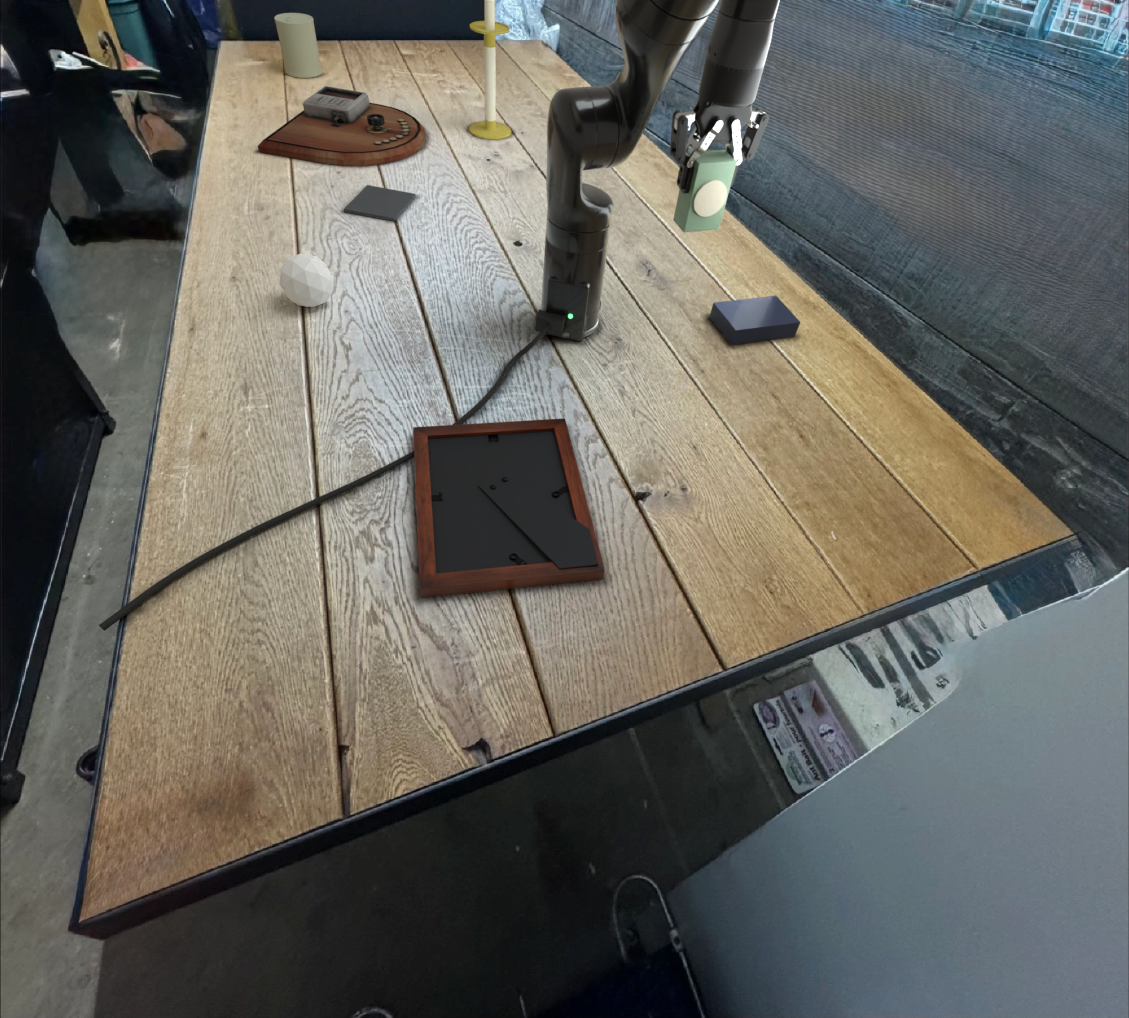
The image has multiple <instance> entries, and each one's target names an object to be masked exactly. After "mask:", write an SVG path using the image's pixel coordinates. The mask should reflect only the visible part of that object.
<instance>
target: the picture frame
mask: <svg viewBox="0 0 1129 1018" xmlns="http://www.w3.org/2000/svg"><path fill="white" fill-rule="evenodd" d="M412 431H413V432H412V433H413V434H412V436H413V451H414V457H413V459H414V481H415V505H416V507H415V508H416V525H417V526H416V529H417V551H418V553H417V554H418V574H419V575H418V577H419V591H420V598H421V599H423V598H424V599H425V598H432V597H433V598H434V597H441V596H442V597H443V596H452V595H462V594H463V595H464V594H472V593H480V592H482V593H483V592H493V591H501V590H510V589H511V590H512V589H521V588H530V587H539V586H549V585H559V584H569V583H577V582H587V581H597V580H603V579H604V576H605V571H606V570H605V565H604V562H603V558H602V553H601V549H600V547H599V543H598V539H597V535H596V531H595V527H594V524H593V519H592V516H591V512H590V509H589V505H588V501H587V497H586V492H585V488H584V485H583V482H582V478H581V474H580V470H579V466H578V463H577V460H576V455H575V450H574V448H573V443H572V440H571V435H570V432H569V429H568V424H567V420H566V417H564V418H562V417H561V418H546V419H530V420H514V421H511V420H510V421H496V422H480V423H479V422H478V423H463V424H460V425H453V424H447V425H446V424H445V425H426V426H413V427H412Z"/></svg>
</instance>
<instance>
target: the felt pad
mask: <svg viewBox="0 0 1129 1018" xmlns="http://www.w3.org/2000/svg"><path fill="white" fill-rule="evenodd" d="M415 198H416V193H413V192H408V191H403V190H396V189H391V188H384V187H382V186H381V187H380V186H374V185H368V184H367V185H366V186H365V187H364V188H363V189H362V190H361V191H359V193H358V194H357V195H356V196H355V197H354V198H353V199H352V200H351V201H350V202H349V203H348V204H347V205H346V206H345V207H344V208H343V212H344V213H349V214H354V215H358V216H363V217H368V218H373V219H380V220H385V221H391V222H396V221H397V219H398V218H399V217H400V216H401V215H402V213H404V211H405V210H406V209H407V208H408V206H409V205H410V204H411V203H412V202H413V201H414V199H415Z"/></svg>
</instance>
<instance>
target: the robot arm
mask: <svg viewBox="0 0 1129 1018" xmlns="http://www.w3.org/2000/svg"><path fill="white" fill-rule="evenodd" d="M780 2H781V0H615V24H616V29H617V35H618V38H619V43H620V47H621V51H622V54H623V58H624V62H623V65H622V68H621V69H620V71H619V73H618V74H617V76H616V78H615V79H614V80H613V81H612V82H611V83H609V84H607V85H597V86H593V85H592V86H579V87H578V86H577V87H576V86H575V87H566V88H560V89H559V90H557V91H556V92H555V93H554V95H553V96H552V98H551V100H550V103H549V107H548V112H547V121H546V173H545V174H546V175H545V176H546V179H545V190H546V202H547V203H546V204H547V207H546V221H545V222H546V223H545V224H546V225H545V239H544V253H543V254H544V255H543V269H542V271H543V272H542V287H541V288H542V289H541V303H540V304H541V305H540V309H538V311H537V313H536V315H535V325H534V332H536V333H538V334H537V335H536V336H534V338H533V339H532V340H530V342H529V343H528V344H527V345H525V346H524V347H523V348H522V349H520V350H519V351H518V352H516V354H514V356H513V357H512V358H511V359H510V360H509V362H508V363H507V364H506V365H505V367H504V369H503V371H502V372H501V373H500V376H499V377H498V379H497V381H495V383H494V384H493V386H492V387H491V388H490V389H489V390H488V392H486V394H485V395H484V396H483V397H482V398H481V399H480V400H479V401H478V402H477V403H476V404H475V405H474V406H473V407H472V408H470V409H469V410H468V411H467V412H466V413H465V414H463V415H462V416H461V417H460V418H459V419H458V420H457V421H455V422H454V423H452V425H460V424H465V422H467V421H468V420H469V419H470V418H471V417H473V416H474V415H475V414H476V413H477V412H478V411H479V410H480V409H481V408H483V406H484V405H485V404H486V403H487V402H488V401H489V400H491V398H492V397H493V395H495V393H496V392H497V391H498V390H499V389H500V387H501V386H502V384H503V383H504V382H505V380H506V378H507V376H508V374H509V373H510V371H511V369H512V368H513V367H514V365H515V364H516V363H517V362H518V361H519V360H520V358H521V357H523V356H524V355H525V354H527V352H529V351H530V350H531V349H532V348H534V347H535V345H537V343H539V341H540V340H541V339H543V337H544V336H545V335H546V336H552V337H556V338H562V339H567V340H571V341H577V342H583V341H584V339H585V338H586V337H590V336H591V335H592V334H594V333H595V332H596V330H597V329H598V327H599V320H600V318H599V314H600V310H601V306H602V301H601V299H602V293H603V286H604V280H605V279H604V278H605V270H606V264H607V257H608V249H609V241H610V235H611V227H612V221H613V215H614V202H613V199H612V197H611V196H610V195H609V194H608V193H607V192H606V191H604V190H603V189H601V188H599V187H597V186H595V185H592V184H589V183H585V182H583V171H593V170H602V169H611V168H615V167H618V166H621V165H622V164H624V163H625V162H626V161H628V159H629V158H630V157H631V156H632V154H633V153H634V151H635V149H636V147H637V146H638V144H639V142H640V140H641V138H642V136H643V135H644V134H643V133H644V131H645V130H646V128H647V125H648V123H649V121H650V119H651V117H652V115H653V112H654V111H655V108H656V106H657V104H658V102H659V100H660V99H661V97H662V95H663V93H664V91H665V90H666V87H667V86H668V84H669V82H670V81H671V79H672V77H673V75H674V74H675V72H676V70H677V69H678V67H679V65H680V64H681V62H682V60H683V59H684V57H685V55H686V54H687V52H688V51H689V49H690V47H691V46H692V44H693V43H694V42H695V40H696V39H697V38H698V37H699V35H700V33H701V31H702V30H703V28H704V27H705V25H706V24H707V22H708V20H709V19H710V17H711V15H712V14H713V13H714V11H715V9H716V8H717V6H718V10H717V13H716V16H715V20H714V23H713V26H712V29H711V32H710V36H709V37H710V38H709V41H708V44H707V49H706V55H705V61H704V65H703V69H702V74H701V79H700V83H699V89H698V99H697V103H696V104H695V106H694V108H693V109H692V110H690V111H686V112H682V111H680V110H676V109H675V111H674V112H673V113H672V119H671V131H670V142H669V143H670V144H669V156H670V157H671V158H672V159H673V160H674V162H676V163H677V164H678V165H679V169H678V174H677V178H676V186H677V187H678V190H680V191H681V192H682V193H683V194H685V193H689V190H690V186H691V181H692V176H693V172H694V167H693V166H694V165H695V163H696V161H697V160H698V158H699V157H700V155H701V154H703V153H705V151H708V148H709V147H710V146H714V145H717V144H722V145H725V151H726V152H727V153H728V154H729V155H731V156H732V157H733V158H734V159H735V160H736V161H737V163H736V167H735V171H734V174H733V178H732V182H731V186H730V188H731V187H732V186H733V185H734V183H735V181H736V180H735V179H736V176H737V173H738V169H739V166H740V165H741V164H742V162H744V161H746V160H747V161H752V160H753V159H754V157H755V155H756V153H757V151H758V148H759V146H760V143H761V140H762V138H763V135H764V133H765V131H766V128H767V125H768V123H769V121H770V116H769V115H768V114H767V113H766V112H765V110H763V109H761V108H759V107H757V108H755V109H752V106H753V105H752V104H754V102H755V100H756V98H757V94H758V91H759V87H760V83H761V79H762V75H763V72H764V70H765V69H764V68H765V64H766V61H767V58H768V53H769V50H770V48H771V43H772V38H773V33H774V32H773V31H774V26H775V21H776V17H777V13H778V9H779V6H780ZM693 123H694V126H695V127H694V128H693V130H692V132H691V133H690V135H689V136H688V132H689V131H690V130H691V127H692V124H693ZM746 125H747V127H746V130H745V133H744V135H743V138H742V135H741V133H742V132H741V131H742V130H743V128H745V126H746ZM687 137H688V138H687ZM700 139H701V140H700ZM412 459H414V450H412V451H410V452H408V453H406V454H405V455H403V456H401V457H399V458H397V459H396V460H394V461H391V462H390V463H388V464H386V465H384V466H382V467H379V468H378V469H376V470H374V471H372V472H369V473H368V474H365V475H364V476H362V477H360V478H358V479H355V480H353V481H352V482H349V483H347V484H345V485H342V486H340V487H338V488H336V489H334V490H332V491H328V492H327V493H324V494H322V495H320V496H317V497H316V498H314V499H312V500H310V501H308V502H305V503H303V504H301V505H299V506H297V507H295V508H292V509H290V510H287V511H286V512H284V513H280V514H278V515H277V516H275V517H272V518H270V519H269V520H266V521H264V522H261V523H259V524H258V525H256V526H253V527H252V528H250V529H247V530H246V531H244V532H242V533H240V534H238V535H235V536H234V537H232V538H230V539H229V540H227V541H225V542H223V543H221V544H219V545H217V546H215V547H214V548H212V549H210V550H208V551H206V552H204V553H202V554H201V555H199V556H197V557H195V558H194V559H192V560H191V561H188V562H187V563H185V564H184V565H182V566H180V567H178V568H177V569H176V570H174V571H172V572H171V573H170V574H167V575H166V576H165V577H163V578H162V579H160V580H159V581H157V582H155V583H154V584H153V585H151V586H149V588H147V589H146V590H144V591H143V592H141V593H140V594H139V595H137V596H136V597H134V599H132V600H130V601H129V602H128V603H126V605H124V606H123V607H121V608H120V609H119V610H117V611H116V612H115V613H113V614H112V615H110V616H108V618H106V619H105V620H104V621H102V622H101V623H100V624H98V627H100V628H101V630H102V631H107V630H108V629H109V628H110V627H112V626H113V625H115V624H116V623H117V622H118V621H120V620H121V619H122V618H124V617H125V616H127V615H128V614H129V613H130V612H132V611H134V609H136V608H137V607H139V606H140V605H141V604H142V603H144V602H145V601H146V600H148V599H149V598H151V597H152V596H153V595H155V594H156V593H157V592H159V591H160V590H161V589H164V588H165V587H167V586H168V585H169V584H171V583H172V582H174V581H175V580H177V579H179V578H180V577H182V576H183V575H184V574H187V573H188V572H190V571H191V570H193V569H195V568H196V567H198V566H200V565H201V564H203V563H204V562H207V561H208V560H210V559H212V558H213V557H216V556H217V555H219V554H221V553H223V552H225V551H227V550H228V549H230V548H233V547H234V546H236V545H238V544H239V543H242V542H243V541H245V540H247V539H249V538H252V537H253V536H255V535H257V534H259V533H261V532H263V531H265V530H267V529H269V528H271V527H274V526H276V525H277V524H280V523H282V522H284V521H286V520H288V519H291V518H292V517H295V516H297V515H299V514H301V513H304V512H305V511H309V510H310V509H312V508H315V507H316V506H318V505H321V504H323V503H325V502H327V501H329V500H331V499H333V498H336V497H338V496H341V495H343V494H345V493H347V492H350V491H351V490H354V489H356V488H357V487H360V486H361V485H364V484H366V483H368V482H370V481H372V480H374V479H376V478H378V477H380V476H382V475H384V474H386V473H388V472H390V471H391V470H393V469H396V468H398V467H400V466H401V465H403V464H405V463H406V462H408V461H410V460H412Z"/></svg>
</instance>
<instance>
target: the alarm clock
mask: <svg viewBox="0 0 1129 1018" xmlns="http://www.w3.org/2000/svg"><path fill="white" fill-rule="evenodd" d="M736 163H737V161H736V160H735V159H734V158H733V157H732V156H731V155H729V154H728V153H727V152H726V149H714V150H712V149H711V150H706V151H705V153H703V154H701V155H700V157H699V158H698V160H697V161H696V163H695V165H694V166H693V167H694V172H693V176H692V181H691V186H690V190H689V193H685V194H683V193H682V192H681V191H680V189H678V190H679V191H678V195H677V199H676V205H675V209H674V215H673V219H672V220H673V222H674V223H675V224H676V226H678V228H679V229H680V230H681V232H683V233H685V234H686V233H696V232H708V231H718V230H720V227H721V223H722V220H723V216H724V212H725V208H726V205H727V201H728V196H729V193H730V190H731V187H730V186H731V182H732V178H733V174H734V171H735V167H736Z"/></svg>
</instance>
